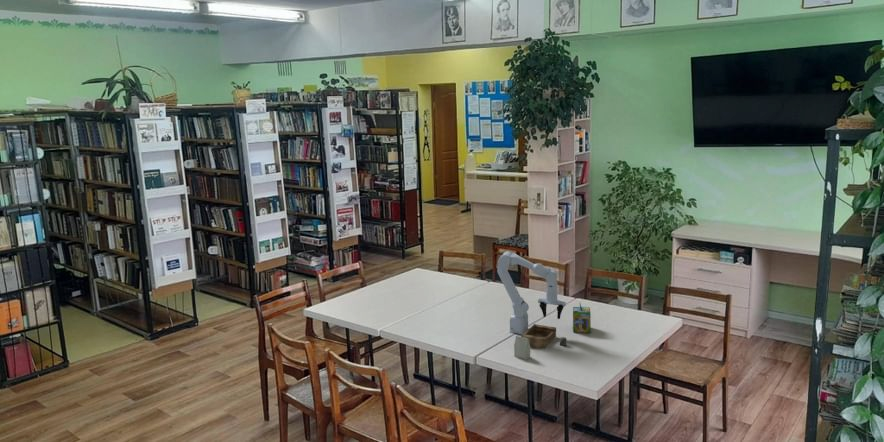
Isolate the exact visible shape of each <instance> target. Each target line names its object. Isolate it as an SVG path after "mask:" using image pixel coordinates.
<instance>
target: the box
mask: <svg viewBox="0 0 884 442" xmlns="http://www.w3.org/2000/svg"><path fill="white" fill-rule="evenodd" d="M520 335H521V336H520V337H524V338H528V339H529V343H530V348H531V347H532V348H536V349H543V350H544V349H545V348H546V347H547V346H549V344H550V343H551V342H552V341H553V340H554V339H556V337H557V327H554V326H548V325H543V324H536V323H534V324H533V325H532V326H530V327H528V330H527V331H526V332H525V333H524V334H520Z"/></svg>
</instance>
